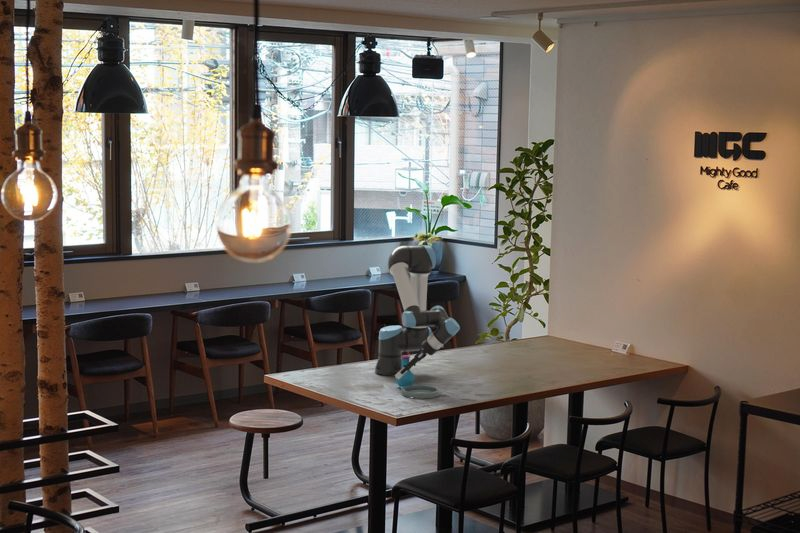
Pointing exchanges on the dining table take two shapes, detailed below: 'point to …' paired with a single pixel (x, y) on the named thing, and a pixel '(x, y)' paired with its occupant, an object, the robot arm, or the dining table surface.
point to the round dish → (420, 391)
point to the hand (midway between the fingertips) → (399, 375)
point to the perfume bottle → (408, 376)
